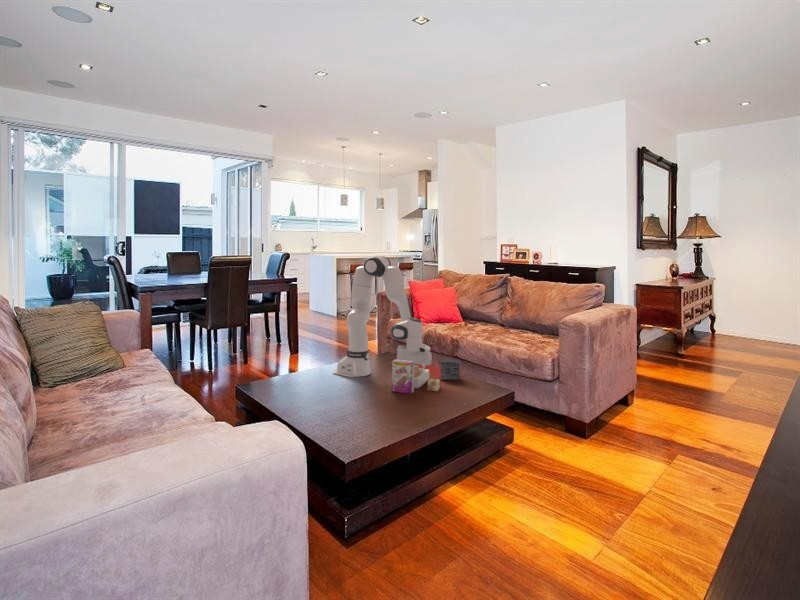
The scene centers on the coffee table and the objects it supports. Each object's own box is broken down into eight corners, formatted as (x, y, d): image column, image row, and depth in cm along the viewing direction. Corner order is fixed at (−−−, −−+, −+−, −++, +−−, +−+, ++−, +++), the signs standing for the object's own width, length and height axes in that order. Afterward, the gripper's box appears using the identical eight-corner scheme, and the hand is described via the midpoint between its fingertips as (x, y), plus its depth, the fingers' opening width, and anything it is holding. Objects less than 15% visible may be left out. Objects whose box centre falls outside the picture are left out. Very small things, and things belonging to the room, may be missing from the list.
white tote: (393, 385, 246) (393, 375, 245) (405, 376, 263) (405, 367, 262) (418, 388, 240) (418, 378, 240) (429, 379, 257) (429, 369, 257)
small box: (459, 377, 261) (459, 360, 259) (459, 381, 254) (459, 362, 253) (440, 377, 262) (440, 359, 260) (440, 380, 255) (440, 362, 254)
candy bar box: (391, 392, 235) (391, 361, 233) (394, 389, 240) (394, 358, 238) (411, 394, 231) (411, 363, 229) (414, 391, 236) (414, 360, 234)
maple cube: (427, 390, 238) (427, 381, 238) (430, 387, 243) (430, 378, 242) (436, 391, 236) (436, 382, 236) (439, 388, 241) (439, 379, 240)
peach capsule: (408, 379, 254) (408, 367, 253) (411, 376, 259) (412, 364, 258) (417, 380, 252) (417, 368, 252) (420, 377, 257) (420, 365, 256)
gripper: (395, 346, 254) (394, 370, 256) (429, 350, 247) (428, 374, 248) (399, 344, 260) (399, 367, 262) (433, 347, 252) (432, 371, 254)
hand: (413, 370), depth 255 cm, fingers open, 8 cm apart
